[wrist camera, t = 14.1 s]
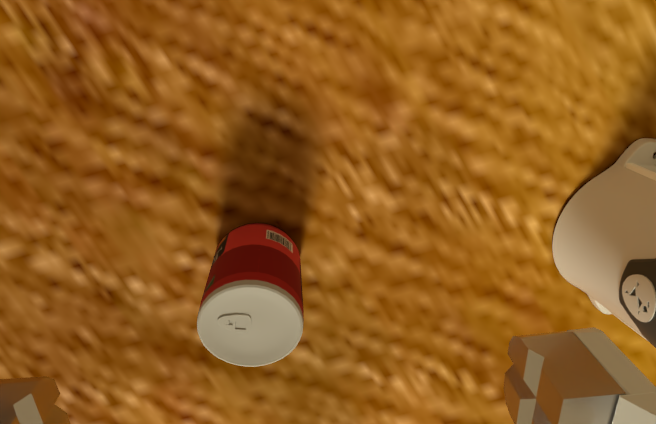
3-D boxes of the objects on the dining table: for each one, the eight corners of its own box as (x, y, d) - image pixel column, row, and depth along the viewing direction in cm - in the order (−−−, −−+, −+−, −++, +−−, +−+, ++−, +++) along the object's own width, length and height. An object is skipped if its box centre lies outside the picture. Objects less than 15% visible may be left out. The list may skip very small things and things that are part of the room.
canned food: (208, 225, 44) (186, 291, 34) (295, 215, 45) (297, 277, 35) (223, 295, 48) (207, 374, 38) (304, 285, 48) (309, 361, 38)
